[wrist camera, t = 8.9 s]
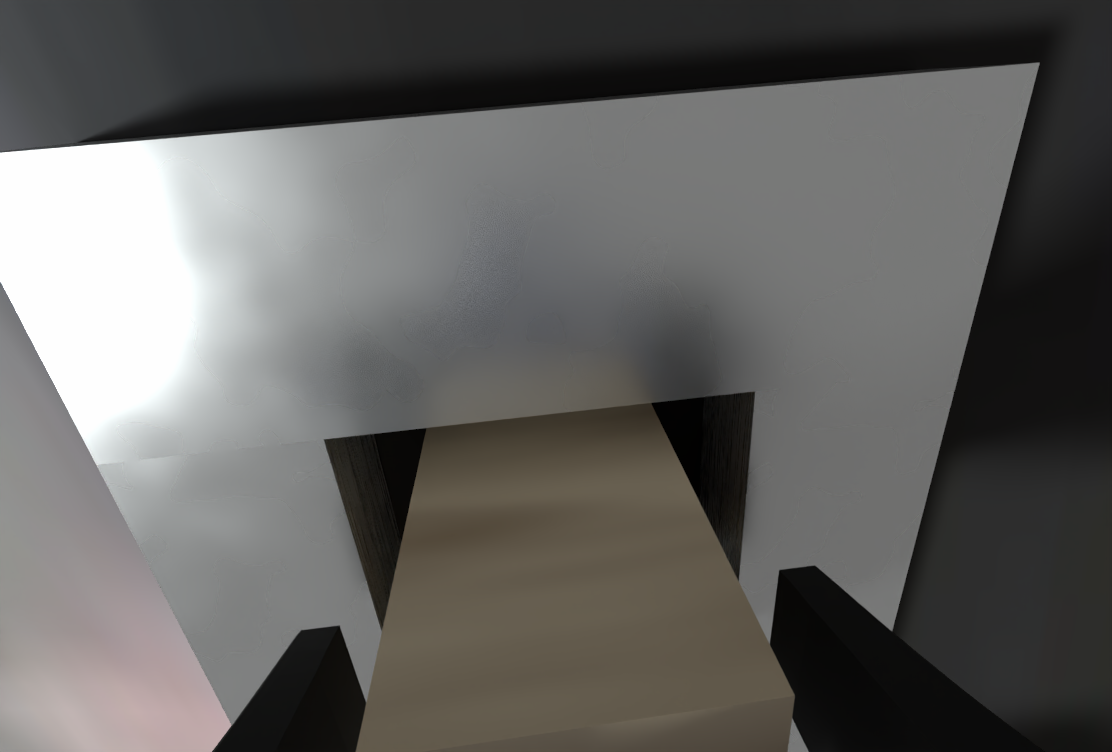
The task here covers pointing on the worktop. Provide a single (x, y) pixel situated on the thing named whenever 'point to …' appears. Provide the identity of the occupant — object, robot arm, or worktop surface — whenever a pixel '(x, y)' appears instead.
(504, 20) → the worktop surface
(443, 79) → the worktop surface
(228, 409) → the socket plate
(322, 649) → the robot arm
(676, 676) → the birch block
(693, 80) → the worktop surface
